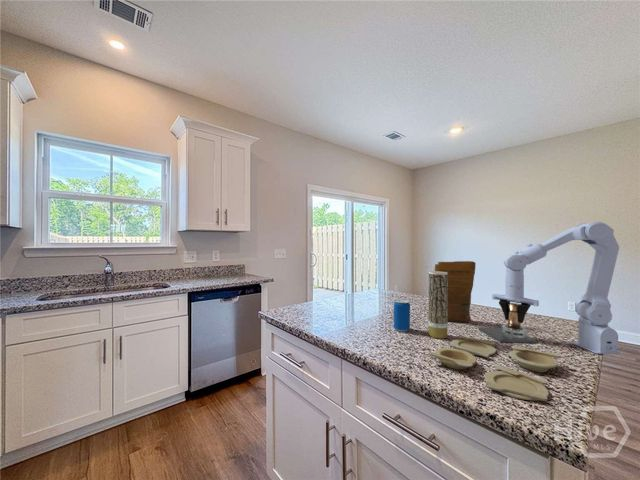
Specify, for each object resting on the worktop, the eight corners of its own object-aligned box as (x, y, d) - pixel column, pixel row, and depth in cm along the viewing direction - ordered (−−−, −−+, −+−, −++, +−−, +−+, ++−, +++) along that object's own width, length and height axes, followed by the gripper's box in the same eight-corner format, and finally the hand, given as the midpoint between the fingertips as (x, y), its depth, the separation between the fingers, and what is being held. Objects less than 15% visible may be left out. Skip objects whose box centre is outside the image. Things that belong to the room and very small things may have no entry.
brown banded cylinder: (523, 329, 101) (523, 305, 101) (512, 329, 101) (512, 305, 101) (515, 325, 105) (515, 302, 105) (505, 325, 105) (505, 302, 105)
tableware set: (460, 338, 103) (460, 327, 103) (562, 364, 82) (562, 351, 82) (417, 367, 79) (417, 353, 79) (546, 415, 58) (546, 396, 58)
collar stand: (536, 342, 98) (536, 332, 98) (500, 342, 98) (500, 331, 98) (509, 330, 112) (509, 320, 112) (478, 329, 112) (478, 320, 112)
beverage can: (407, 327, 114) (408, 299, 114) (411, 332, 108) (411, 303, 108) (392, 326, 115) (392, 299, 115) (395, 332, 109) (395, 302, 109)
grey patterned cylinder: (449, 340, 100) (450, 273, 100) (430, 338, 102) (430, 273, 102) (444, 333, 107) (445, 271, 107) (426, 332, 108) (427, 271, 108)
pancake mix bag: (478, 324, 120) (479, 261, 120) (434, 322, 122) (435, 261, 122) (471, 319, 127) (472, 260, 127) (430, 318, 128) (430, 260, 128)
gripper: (541, 287, 100) (540, 323, 100) (497, 282, 111) (496, 315, 111) (535, 289, 95) (535, 327, 95) (490, 284, 107) (490, 317, 107)
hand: (514, 321), depth 103 cm, fingers closed on brown banded cylinder, 4 cm apart
